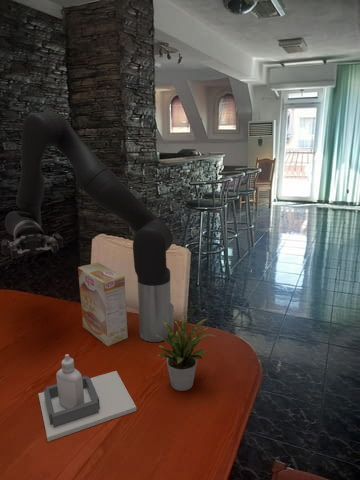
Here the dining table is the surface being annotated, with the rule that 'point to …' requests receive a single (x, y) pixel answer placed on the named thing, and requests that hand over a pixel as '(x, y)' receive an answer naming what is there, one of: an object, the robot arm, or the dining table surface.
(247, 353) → the dining table surface
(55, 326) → the dining table surface
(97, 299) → the coffeecake box
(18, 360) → the dining table surface
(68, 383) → the eye dropper bottle
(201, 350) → the house plant
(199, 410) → the dining table surface
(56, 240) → the robot arm
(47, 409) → the bottle holder
